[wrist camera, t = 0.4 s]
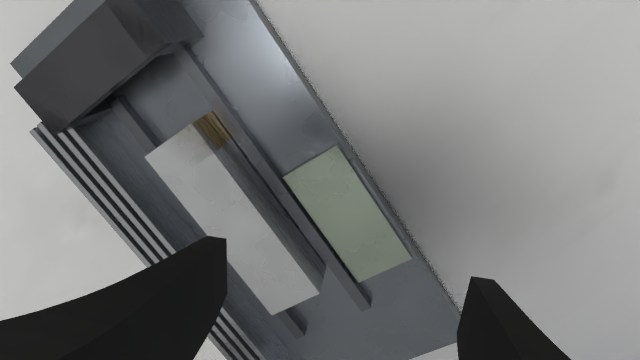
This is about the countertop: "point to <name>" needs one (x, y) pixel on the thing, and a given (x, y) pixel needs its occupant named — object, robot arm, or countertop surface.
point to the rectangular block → (239, 213)
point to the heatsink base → (258, 148)
